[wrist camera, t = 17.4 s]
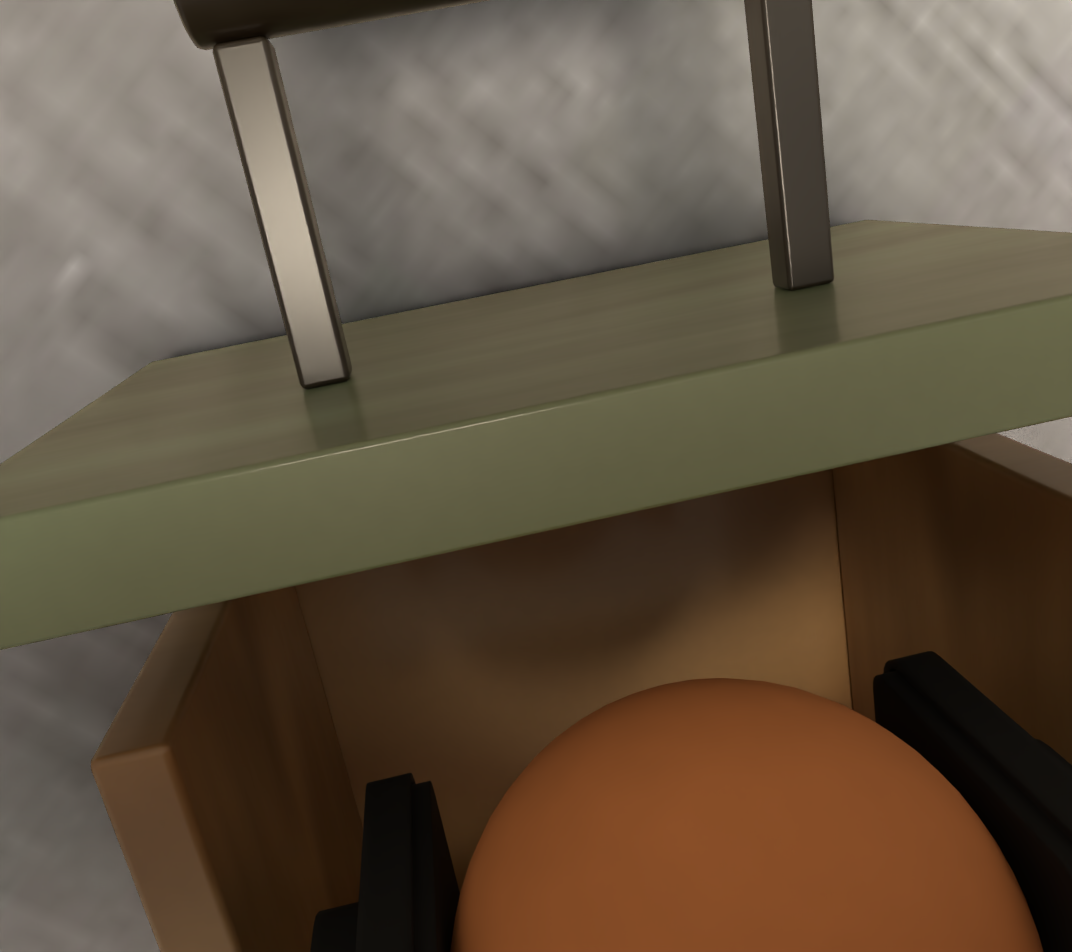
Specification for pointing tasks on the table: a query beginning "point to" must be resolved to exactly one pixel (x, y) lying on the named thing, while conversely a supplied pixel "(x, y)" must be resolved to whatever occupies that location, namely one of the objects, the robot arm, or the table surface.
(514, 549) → the drawer
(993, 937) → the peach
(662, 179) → the table surface
